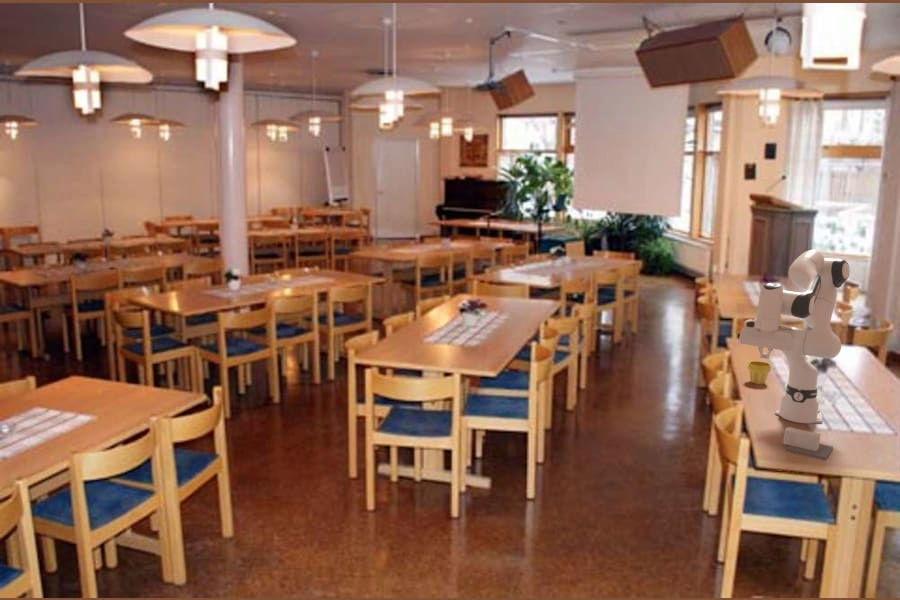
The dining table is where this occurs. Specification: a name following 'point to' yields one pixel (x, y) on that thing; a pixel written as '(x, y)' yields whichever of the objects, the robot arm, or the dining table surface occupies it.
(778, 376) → the dining table surface
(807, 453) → the rubber mat
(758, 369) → the plant pot
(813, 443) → the skincare box
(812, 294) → the robot arm
